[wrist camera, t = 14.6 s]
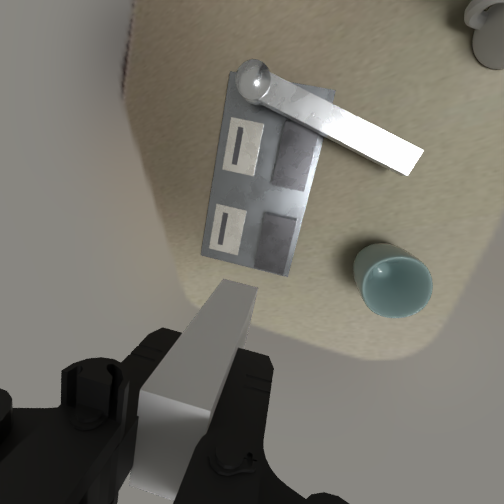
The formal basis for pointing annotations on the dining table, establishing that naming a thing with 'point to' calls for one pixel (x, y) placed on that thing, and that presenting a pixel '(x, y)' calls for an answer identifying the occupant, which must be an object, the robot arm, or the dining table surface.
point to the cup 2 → (487, 31)
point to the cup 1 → (391, 280)
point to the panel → (260, 184)
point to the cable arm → (325, 118)
